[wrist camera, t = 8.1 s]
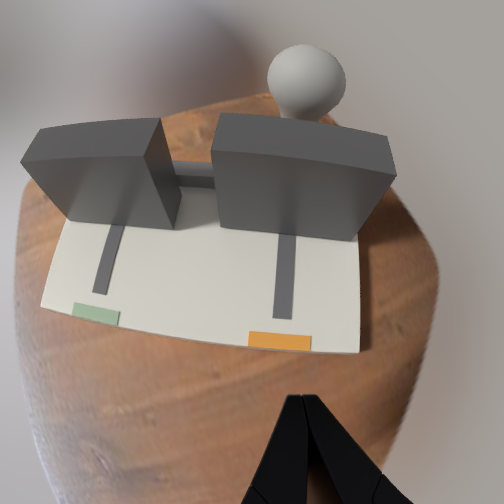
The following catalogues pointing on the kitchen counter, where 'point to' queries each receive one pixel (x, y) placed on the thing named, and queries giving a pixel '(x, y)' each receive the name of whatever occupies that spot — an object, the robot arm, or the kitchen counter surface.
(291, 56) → the lightbulb
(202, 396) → the kitchen counter surface
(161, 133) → the block
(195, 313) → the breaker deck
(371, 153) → the block
